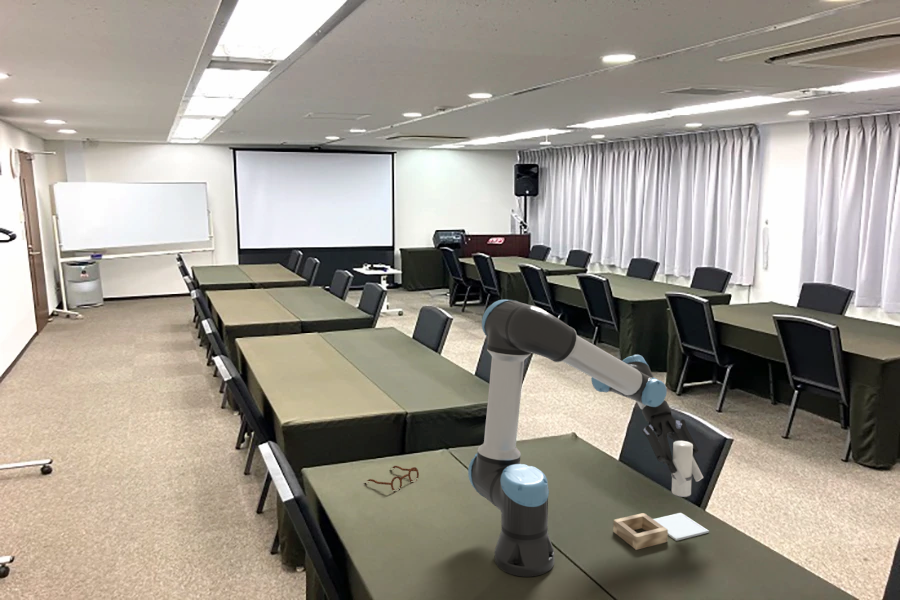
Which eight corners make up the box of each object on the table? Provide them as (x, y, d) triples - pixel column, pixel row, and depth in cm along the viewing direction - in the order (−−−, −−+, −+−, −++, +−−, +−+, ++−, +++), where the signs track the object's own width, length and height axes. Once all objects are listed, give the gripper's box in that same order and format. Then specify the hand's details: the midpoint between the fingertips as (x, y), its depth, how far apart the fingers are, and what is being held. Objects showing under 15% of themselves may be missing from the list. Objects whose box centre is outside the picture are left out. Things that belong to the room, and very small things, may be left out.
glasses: (393, 495, 202) (392, 480, 201) (363, 484, 210) (362, 470, 209) (419, 480, 212) (419, 466, 211) (390, 470, 220) (389, 457, 219)
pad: (676, 540, 172) (676, 538, 171) (649, 521, 182) (649, 519, 182) (708, 532, 175) (708, 530, 175) (680, 514, 186) (680, 512, 185)
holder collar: (636, 549, 168) (636, 537, 167) (613, 531, 177) (613, 519, 176) (667, 541, 171) (667, 529, 171) (643, 524, 180) (643, 512, 180)
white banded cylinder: (680, 498, 174) (682, 449, 172) (666, 490, 179) (668, 442, 176) (696, 494, 176) (698, 446, 173) (682, 486, 181) (684, 439, 178)
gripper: (672, 406, 192) (710, 481, 179) (621, 415, 185) (657, 493, 173) (685, 394, 186) (725, 470, 173) (633, 403, 179) (671, 482, 167)
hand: (691, 481), depth 173 cm, fingers closed on white banded cylinder, 5 cm apart
